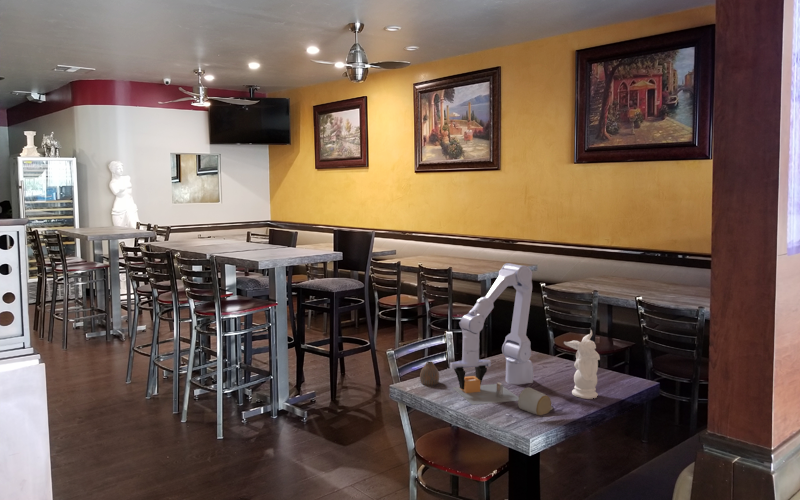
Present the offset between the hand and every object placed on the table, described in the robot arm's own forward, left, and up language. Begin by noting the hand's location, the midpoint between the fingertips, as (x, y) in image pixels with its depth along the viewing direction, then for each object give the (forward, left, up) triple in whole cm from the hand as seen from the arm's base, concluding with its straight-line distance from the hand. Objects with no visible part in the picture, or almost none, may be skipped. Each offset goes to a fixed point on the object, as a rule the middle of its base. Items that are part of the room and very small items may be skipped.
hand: (469, 387), depth 214 cm
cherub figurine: (-37, +10, -2) cm, 38 cm away
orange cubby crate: (0, 0, -1) cm, 1 cm away
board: (-4, +5, -2) cm, 7 cm away
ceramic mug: (-13, +23, -2) cm, 27 cm away
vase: (+11, -11, -2) cm, 16 cm away
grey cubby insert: (-7, +9, -1) cm, 11 cm away
